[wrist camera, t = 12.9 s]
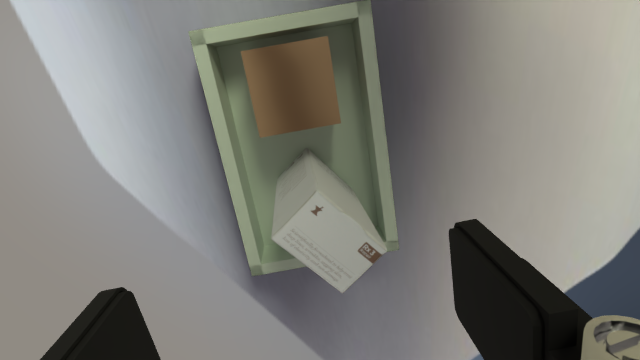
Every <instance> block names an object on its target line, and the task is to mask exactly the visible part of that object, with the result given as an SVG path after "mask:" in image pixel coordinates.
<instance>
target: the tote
mask: <svg viewBox="0 0 640 360" xmlns="http://www.w3.org/2000/svg"><path fill="white" fill-rule="evenodd" d="M189 36H190V40H191V43H192V47H193V51H194V55H195V59H196V63H197V67H198V70H199V74H200V78H201V82H202V86H203V90H204V94H205V97H206V101H207V105H208V109H209V113H210V117H211V120H212V124H213V128H214V132H215V136H216V140H217V144H218V147H219V151H220V155H221V159H222V163H223V167H224V170H225V174H226V178H227V182H228V186H229V190H230V194H231V197H232V201H233V205H234V209H235V213H236V217H237V221H238V224H239V228H240V232H241V236H242V240H243V244H244V247H245V251H246V255H247V259H248V263H249V267H250V271H251V274H252V276H258V275H263V274H269V273H274V272H280V271H285V270H291V269H296V268H302V267H307V266H306V265H304V264H303V263H302V262H300V261H299V260H298V259H296V258H295V257H294V256H293V255H291V254H290V253H289V252H287V251H286V250H285V249H283V248H282V247H281V246H279V245H278V244H277V243H275V242H274V241H273V240H272V239H271V235H272V227H273V214H274V204H275V194H276V184H277V179H278V177H279V176H280V175H281V174H282V173H283V172H284V171H285V170H286V169H287V168H288V167H289V165H290V164H291V163H292V162H293V161H294V160H295V159H296V158H297V157H298V156H299V155H300V154H301V153H302V152H303V151H304V150H305V149H306V148H308V149H309V150H310V151H311V152H313V153H314V154H315V155H316V156H317V157H318V158H319V159H320V160H321V161H322V162H324V163H325V164H326V165H327V166H328V167H329V168H330V169H331V170H332V171H333V172H335V173H336V174H337V175H338V176H339V177H340V178H341V179H342V180H343V181H344V182H346V183H347V184H348V185H349V186H350V187H351V188H352V189H353V191H354V192H355V194H356V196H357V198H358V199H359V201H360V203H361V205H362V206H363V208H364V210H365V211H366V213H367V215H368V217H369V218H370V220H371V222H372V223H373V225H374V227H375V229H376V230H377V232H378V234H379V236H380V237H381V239H382V241H383V243H384V245H385V246H386V248H387V251H386V252H390V251H395V250H399V243H398V235H397V226H396V217H395V209H394V200H393V192H392V183H391V174H390V166H389V157H388V148H387V140H386V131H385V122H384V114H383V105H382V96H381V88H380V79H379V70H378V62H377V53H376V44H375V36H374V27H373V18H372V10H371V1H370V0H364V1H358V2H352V3H347V4H341V5H335V6H330V7H324V8H318V9H313V10H307V11H302V12H296V13H290V14H285V15H279V16H273V17H268V18H262V19H256V20H251V21H245V22H239V23H234V24H228V25H222V26H217V27H211V28H206V29H200V30H194V31H189ZM325 36H328V40H329V47H330V54H331V60H332V67H333V73H334V80H335V87H336V93H337V100H338V106H339V113H340V119H341V123H340V124H334V125H329V126H323V127H317V128H312V129H306V130H301V131H295V132H290V133H284V134H278V135H273V136H267V137H262V138H260V136H259V132H258V127H257V123H256V118H255V114H254V109H253V105H252V100H251V96H250V91H249V87H248V82H247V78H246V73H245V69H244V64H243V60H242V55H241V51H246V50H251V49H257V48H263V47H268V46H274V45H279V44H285V43H291V42H296V41H302V40H308V39H313V38H319V37H325Z"/></svg>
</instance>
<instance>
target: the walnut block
mask: <svg viewBox="0 0 640 360" xmlns="http://www.w3.org/2000/svg"><path fill="white" fill-rule="evenodd" d="M241 55H242V60H243V64H244V69H245V73H246V78H247V82H248V87H249V91H250V96H251V100H252V105H253V109H254V114H255V118H256V123H257V127H258V132H259V136H260V138H262V137H267V136H273V135H278V134H284V133H290V132H295V131H301V130H306V129H312V128H317V127H323V126H329V125H334V124H340V123H341V119H340V113H339V106H338V100H337V93H336V87H335V80H334V73H333V67H332V60H331V54H330V47H329V40H328V36H325V37H319V38H313V39H308V40H302V41H296V42H291V43H285V44H279V45H274V46H268V47H263V48H257V49H251V50H246V51H241Z"/></svg>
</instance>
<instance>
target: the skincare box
mask: <svg viewBox="0 0 640 360" xmlns="http://www.w3.org/2000/svg"><path fill="white" fill-rule="evenodd" d="M271 239H272V240H273V241H274V242H275V243H277V244H278V245H279V246H281V247H282V248H283V249H285V250H286V251H287V252H289V253H290V254H291V255H293V256H294V257H295V258H296V259H298V260H299V261H300V262H302V263H303V264H304V265H306V266H307V267H308V268H310V269H311V270H312V271H314V272H315V273H316V274H317V275H319V276H320V277H321V278H323V279H324V280H325V281H327V282H328V283H329V284H330V285H332V286H333V287H334V288H336V289H337V290H338V291H340V292H341V293H344V292H345V291H346V290H347V289H348V288H349V287H350V286H351V285H352V284H353V283H354V282H355V281H356V280H357V279H358V278H359V277H360V276H361V275H362V274H363V273H364V272H365V271H366V270H367V269H368V268H370V267H371V266H372V265H373V264H374V263H375V262H376V261H377V260H378V259H379V258H380V257H381V256H382V255H383V254H384V253H385V252H386V251H387V248H386V246H385V245H384V243H383V241H382V239H381V237H380V236H379V234H378V232H377V230H376V229H375V227H374V225H373V223H372V222H371V220H370V218H369V217H368V215H367V213H366V211H365V210H364V208H363V206H362V205H361V203H360V201H359V199H358V198H357V196H356V194H355V192H354V191H353V189H352V188H351V187H350V186H349V185H348V184H347V183H346V182H344V181H343V180H342V179H341V178H340V177H339V176H338V175H337V174H336V173H335V172H333V171H332V170H331V169H330V168H329V167H328V166H327V165H326V164H325V163H324V162H322V161H321V160H320V159H319V158H318V157H317V156H316V155H315V154H314V153H313V152H311V151H310V150H309V149H308V148H306V149H305V150H304V151H303V152H302V153H301V154H300V155H299V156H298V157H297V158H296V159H295V160H294V161H293V162H292V163H291V164H290V165H289V167H288V168H287V169H286V170H285V171H284V172H283V173H282V174H281V175H280V176H279V177H278V179H277V184H276V194H275V204H274V214H273V227H272V235H271Z"/></svg>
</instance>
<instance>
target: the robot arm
mask: <svg viewBox="0 0 640 360" xmlns="http://www.w3.org/2000/svg"><path fill="white" fill-rule="evenodd" d="M449 241H450V254H451V266H452V279H453V291H454V303H455V310H456V313H457V316H458V318H459V320H460V322H461V323H462V325H463V326H464V328H465V330H466V331H467V333H468V334H469V336H470V338H471V339H472V341H473V342H474V344H475V346H476V347H477V349H478V350H479V352H480V354H481V355H482V357H483V359H484V360H640V320H637V319H633V318H631V317H624V316H617V315H613V316H601V317H597V318H592V317H590V316H589V315H588V314H587V313H586V312H585V311H584V310H583V309H581V308H580V307H579V306H578V305H577V304H575V303H574V302H573V301H572V300H571V299H570V298H569V297H568V296H566V295H565V294H564V293H563V292H562V291H561V290H560V289H558V288H557V287H556V286H555V285H554V284H553V283H551V282H550V281H549V280H548V279H547V278H546V277H545V276H543V275H542V274H541V273H540V272H539V271H538V270H537V269H535V268H534V267H533V266H532V265H531V264H530V263H528V262H527V261H526V260H524V259H523V258H520V257H519V256H518V255H517V254H516V253H515V252H513V251H512V250H511V249H510V248H509V247H508V246H507V245H505V244H504V243H503V242H502V241H501V240H500V239H499V238H498V237H496V236H495V235H494V234H493V233H492V232H491V231H490V230H488V229H487V228H486V227H485V226H484V225H483V224H482V223H480V222H479V221H478V220H477V219H473V220H467V221H462V222H457V223H455V225H454V228H452V229H450V230H449ZM40 360H160V357H159V354H158V352H157V350H156V347H155V345H154V342H153V340H152V338H151V335H150V333H149V331H148V328H147V326H146V323H145V321H144V318H143V316H142V314H141V311H140V309H139V306H138V304H137V302H136V299H135V297H134V295H133V293H132V292H131V291H127V290H126V289H125V288H123V287H120V288H116V289H110V290H105V291H101V292H100V293H98V294H97V296H96V297H95V298H94V299H93V300H92V301H91V303H90V304H89V305H88V306H87V307H86V308H85V310H84V311H83V312H82V313H81V314H80V315H79V316H78V317H77V318H76V319H75V321H74V322H73V323H72V324H71V325H70V326H69V328H68V329H67V330H66V331H65V332H64V333H63V334H62V335H61V336H60V338H59V339H58V340H57V341H56V342H55V343H54V345H53V346H52V347H51V348H50V349H49V350H48V351H47V352H46V354H45V355H44V356H43V357H42V358H41V359H40Z"/></svg>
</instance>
